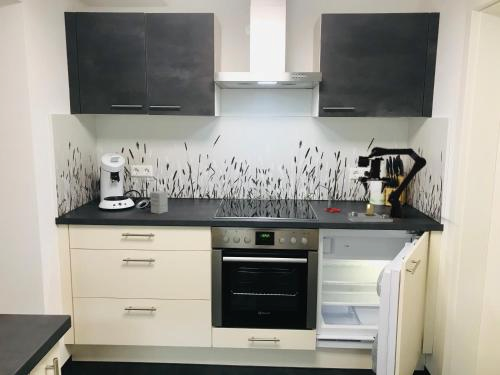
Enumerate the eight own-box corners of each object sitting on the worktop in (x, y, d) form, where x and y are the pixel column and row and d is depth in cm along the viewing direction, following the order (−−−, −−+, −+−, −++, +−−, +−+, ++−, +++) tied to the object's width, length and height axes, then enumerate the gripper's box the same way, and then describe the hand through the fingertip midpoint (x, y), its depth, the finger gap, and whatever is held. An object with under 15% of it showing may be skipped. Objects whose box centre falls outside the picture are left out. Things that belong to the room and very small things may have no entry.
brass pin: (372, 219, 234) (373, 203, 233) (374, 220, 230) (375, 205, 229) (365, 219, 234) (366, 203, 233) (367, 220, 230) (368, 205, 229)
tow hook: (332, 209, 262) (322, 210, 257) (333, 189, 261) (324, 190, 255) (342, 211, 256) (333, 213, 250) (344, 191, 254) (334, 192, 248)
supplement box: (159, 210, 252) (158, 190, 250) (168, 211, 248) (167, 191, 246) (150, 212, 245) (150, 191, 244) (159, 213, 242) (159, 193, 240)
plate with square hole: (386, 218, 237) (386, 210, 237) (392, 222, 227) (393, 214, 227) (347, 217, 237) (347, 210, 236) (352, 221, 227) (352, 214, 226)
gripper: (386, 166, 250) (384, 191, 252) (356, 166, 249) (354, 191, 252) (392, 168, 239) (391, 194, 241) (361, 168, 238) (360, 194, 241)
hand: (374, 193), depth 244 cm, fingers open, 9 cm apart
